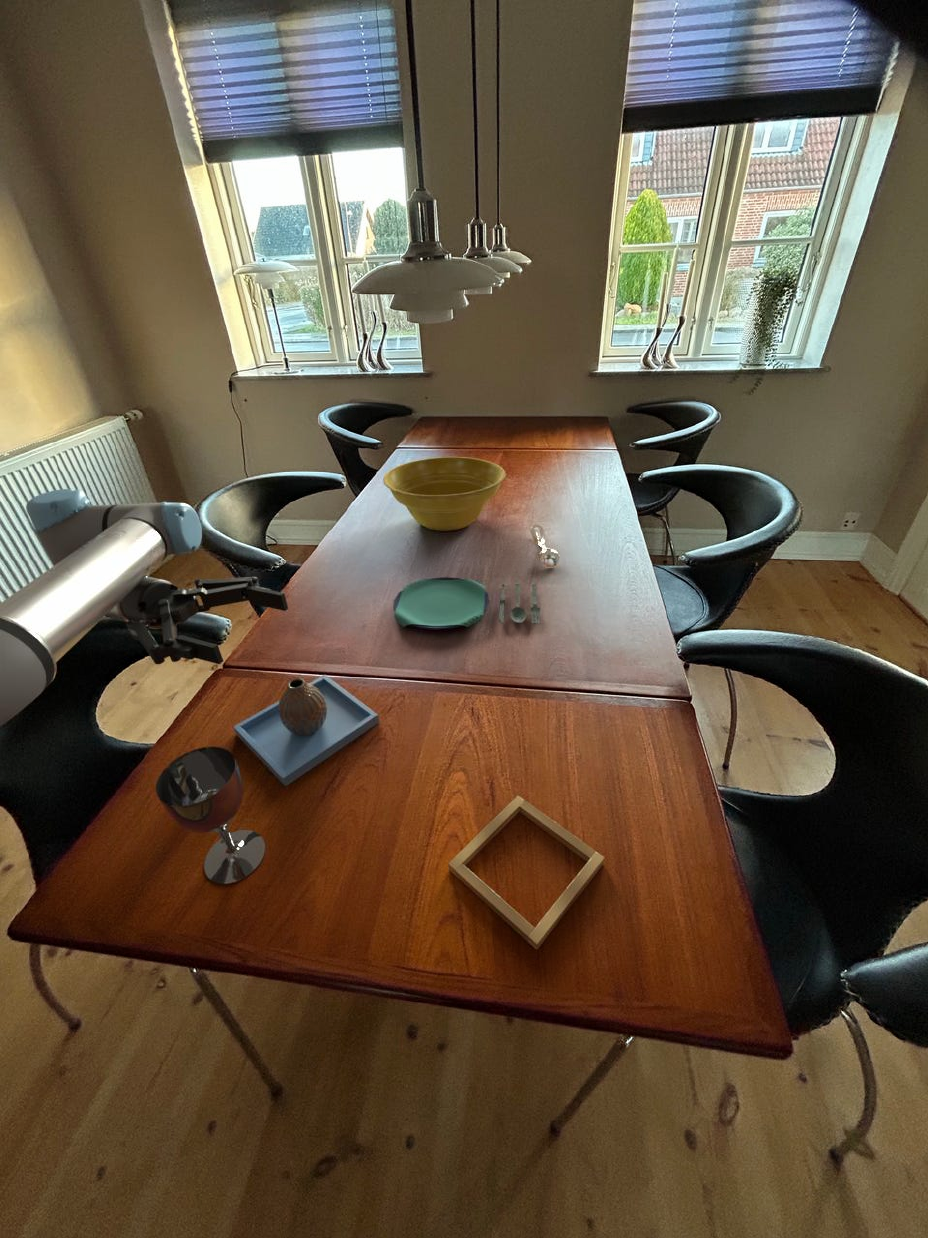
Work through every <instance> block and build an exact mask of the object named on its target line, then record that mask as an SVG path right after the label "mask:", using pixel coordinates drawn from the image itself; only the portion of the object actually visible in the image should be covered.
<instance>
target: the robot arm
mask: <svg viewBox="0 0 928 1238" xmlns="http://www.w3.org/2000/svg"><path fill="white" fill-rule="evenodd" d="M25 509H26V512H27V515H28V517H29V519H30V521H31V524H32V526H33V528H34V533H35V534H36V535H37V537H38V539H39V540H40V543H41V544H42V547H43V548H44V550H45V552H46V553H47V555H48V557H49V559H50V562H51V563H52V564H53V566H51V567H50V568H49V569H47V570H46V571H45V572H43V573H42V574H40V575H38V576H37V577H36V578H34V579H33V580H31V581H30V582H29V583H27V584H25V586H23V587H22V588H20V589H18V590H17V591H15V593H13V594H11V595H10V596H8V597H7V598H6V599H4V600H3V601H1V602H0V727H2V726H3V725H5V724H6V723H8V722H9V721H11V719H13V718H14V717H16V715H18V714H19V713H21V712H22V711H23V710H24V709H25V708H26V707H27V706H29V704H31V703H32V702H33V701H34V700H36V698H37V697H39V696H40V695H41V694H42V693H43V692H44V690H46V688H48V686H49V685H50V684H52V682H53V681H54V679H55V677H56V674H57V662H58V661H59V660H61V659H62V658H63V656H65V654H67V653H68V651H70V650H71V649H72V648H73V647H74V646H75V645H76V644H77V643H78V642H80V640H81V639H83V637H85V636H86V635H87V634H88V633H89V632H90V631H91V630H92V629H93V628H94V627H95V626H96V625H97V624H98V623H99V622H100V621H101V620H102V619H103V618H110V619H113V620H117V621H121V622H124V623H125V625H126V628H127V630H128V631H129V634H130V636H131V638H132V639H133V640H136V641H138V642H140V643H141V645H142V646H143V647H144V649H145V651H146V653H147V654H148V655H149V656H150V657H149V658H151V660H152V661H153V663H154V664H155V665H161V664H164V663H165V660H166V658H170V661H171V662H172V663H177V662H179V661H181V660H182V659H185V660H188V661H189V660H194V659H198V660H202V661H205V662H208V663H213V664H217V665H222V663H223V662H224V659H223V656H222V653H221V649H220V647H219V644H218V643H214V642H209V641H205V640H201V639H198V638H193V637H189V636H187V635H180V634H178V628H177V627H178V626H177V625H178V624H181V623H185V622H186V621H188V620H189V618H191V617H193V616H195V615H197V614H198V613H203V612H209V611H210V609H211V608H215V607H221V606H226V605H233V604H238V603H242V602H243V603H244V602H248V601H249V602H250V604H251V605H256V606H260V607H265V608H268V609H274V610H279V611H283V612H285V611H287V610H289V605H288V602H287V598H286V593H285V592H280V591H275V590H272V589H270V588H266V587H262V586H260V582H259V579H258V577H257V576H245V577H228V578H227V577H226V578H215V579H207V578H197V579H194V586H193V587H191V588H179V587H178V586H177V585H175V584H174V583H172V582H171V581H170V580H169V581H168V580H167V579H166V580H165V579H162V578H157V577H152V576H148V575H150V574H151V572H153V571H154V570H155V569H156V568H157V567H158V566H160V564H161V563H162V562H163V561H164V560H165V559H166V558H168V556H171V555H176V556H181V555H184V554H191V553H192V554H193V553H195V552H196V551H197V550H199V548H200V546H201V543H202V539H203V527H202V523H201V520H200V517H199V515H198V513H197V512H196V510H195V509H194V508H193V507H192V506H191V505H189V504H188V503H185V502H167V501H162V502H146V503H145V502H143V503H124V504H91V501H90V500H89V499H88V498H87V495H86V494H85V493H84V492H83V491H82V490H80V489H74V488H62V489H54V490H51V491H47V492H43V493H40V494H38V495H36V496H34V497H32V498H31V499H29V500H28V502H27V503H26V505H25ZM197 596H199V597H200V600H201V603H202V604H201V605H200V603H199V600H198V597H197ZM150 629H151V630H159V629H161V631H162V641H163V642H162V644H158V643H157V641H156V640H155V638H154V636H153V635H152V634H151V632H150Z"/></svg>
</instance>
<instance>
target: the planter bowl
mask: <svg viewBox="0 0 928 1238" xmlns="http://www.w3.org/2000/svg"><path fill="white" fill-rule="evenodd" d="M505 478H506V470H505V469H504V468H503V467H502V466H500V465H499V464H496V463H495V462H491V461H489V460H486V459H485V460H484V459H480V458H475V457H464V456H440V457H430V458H424V459H423V458H422V459H417V460H413V461H409V462H406V463H403V464H399V465H398V466H395V467H393V468H391V469H390V470H388V471H387V472H386V473H385V474H384V475H383V478H382V482H383V485H385V487H387V489H389V490H390V492H391V494H392V496H393V497H394V499H395V500H396V501H397V502H398V503H400V504H402V505H403V506H405V507H406V509H407V511H408V512H409V513H410V515H411V516H412V517H413V519H414V520H415V522H416V523H418V524H419V525H421V526H423V527H424V528H426V529H428V530H433V531H439V532H449V531H450V532H451V531H456V530H461V529H464V528H466V527H468V526H469V525H471V524H473V523H474V522H476V520H477V519H478V518H479V516H480V515H481V513H482V512H483V510H484V508H485V505H486V504H487V502H488V501H489V500H491V499H492V498H493V497H495V495H496V494H497V492H498V489H499V488H500V485H501V483H502V482H503V481H504V480H505Z"/></svg>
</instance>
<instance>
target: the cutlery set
mask: <svg viewBox="0 0 928 1238" xmlns="http://www.w3.org/2000/svg"><path fill="white" fill-rule="evenodd" d="M520 585H521V583H519V582H518V583H517V582H516V583H515V594H516V606H514V607H513V608H512V609H511V610H510V613H509V616H510V618H511V620H512V621H513V622H515V623H523V622H524V621H525V620H526V618H527V615H528V613H527V611H526V610H525V608H524V607H522V606H520ZM500 586H501V595H500V598H499V605H500V606H499V614H498V615H499V616H498V617H499V619H498V620H499V622H500V623H501V624H502V625H503V624H504V621H505V620H504V618H505V617H504V615H505V610H504V609H505V606H506V597H505V587H506V584H501V585H500ZM486 589H487V588H486V586H484V585H483V584H481V583H479V582H477V581H475V580H473V579H471V578H461V577H452V576H451V577H449V576H442V577H441V576H439V577H431V578H421V579H418V580H415V581H413V582H412V583H409V584H406V585H405V586H403V587H402V589H401V590H400V591H399V592H398V593H397V594H396V596H395V598H394V600H393V611H394V619H395V622H396V623H397V624H398V625H400V626H401V627H403V628H405V627H406V626H413V627H416V628H419V629H424V630H433V631H438V630H441V631H442V630H452V629H456V628H460V627H466V628H469V627H470V626H472V625H474V624H476V623H477V622H480V621H482V620H483V617H484V615H485V614H486V612H487V611H488V608H489V606H490V601H491V600H490V596H489V593H488V592H487V590H486ZM536 594H537V593H536V583H531V595H532V606H531V607H529V612H530V619H531V620H530V621H531V624H532V625H534V624H535V625H537V624H538V625H540V622H541V608H540V607H538V604H537V596H536Z"/></svg>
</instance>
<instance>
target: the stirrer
mask: <svg viewBox="0 0 928 1238" xmlns="http://www.w3.org/2000/svg"><path fill="white" fill-rule="evenodd" d="M535 529H538V532H537V531H536V530H535ZM544 529H545V528H543V526H541V525H539V524H534V525H532V526H531V527H530V534H531V536H532V539H533V540H534V542H535V544H537V545H538V546H539V547H541V550H540V552H539V553H538V557H539V559H540V561H541V563H542V564H543V565H544V566H546V567H547V568H554V567H556V566H557V565H558V564H559V561H560V554H559V552H558V551H557V550H555V549H552V548H549V547H547V546H546V544H545V542H546V536H545V530H544ZM538 533H539V536H538ZM539 537H540V539H539Z"/></svg>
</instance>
